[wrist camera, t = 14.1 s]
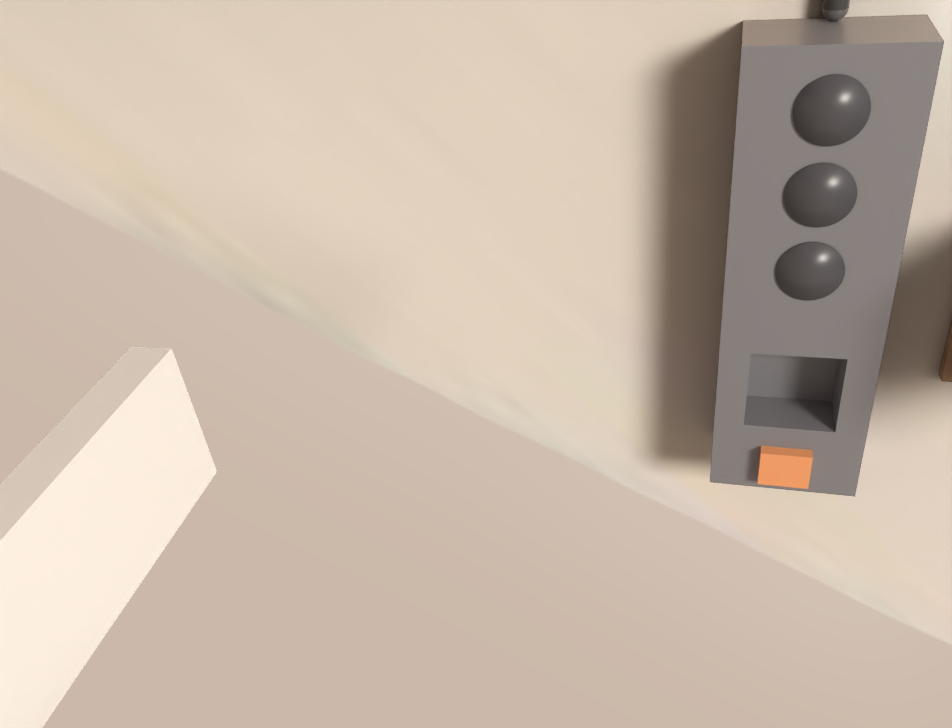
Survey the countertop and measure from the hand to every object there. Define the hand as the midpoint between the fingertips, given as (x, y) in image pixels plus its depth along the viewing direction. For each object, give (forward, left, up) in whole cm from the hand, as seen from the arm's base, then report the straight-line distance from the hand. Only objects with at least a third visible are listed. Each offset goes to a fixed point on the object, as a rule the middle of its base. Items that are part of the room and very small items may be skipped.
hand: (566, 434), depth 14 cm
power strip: (+8, +6, -29) cm, 31 cm away
